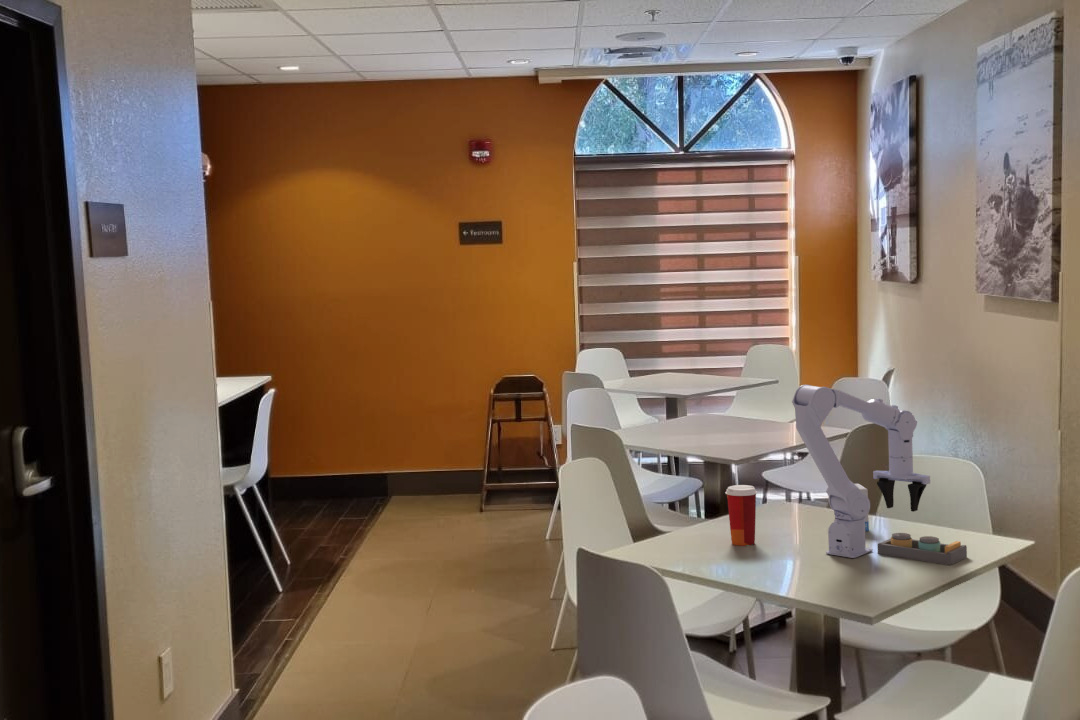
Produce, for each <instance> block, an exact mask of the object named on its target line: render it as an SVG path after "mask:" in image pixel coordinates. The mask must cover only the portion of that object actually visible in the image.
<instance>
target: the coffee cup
mask: <svg viewBox="0 0 1080 720" xmlns="http://www.w3.org/2000/svg"><path fill="white" fill-rule="evenodd" d="M724 493H725V495H726V497H727V508H728V509H727V510H728V519H729V528H730V529H729V530H730V540H731V544H732V545H734V546H737V545H738V547H747V546H746V545H750V546H753V545H755V543H756V541H755V540H756V516H757V515H756V510H757V509H756V508H757V507H756V506H757V505H756V503H757V494H758V491H757V490H756V488H755V486H753V485H747V484H735V485H730V486H727V488H726V491H725V492H724ZM752 544H753V545H752Z"/></svg>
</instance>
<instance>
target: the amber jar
mask: <svg viewBox="0 0 1080 720" xmlns="http://www.w3.org/2000/svg"><path fill="white" fill-rule="evenodd" d="M911 536H912V535H911V534H910V533H907V532H894V533H892V534H891V537H890V539H891V545H896V546H902V547H909V548H912V539H913V538H912V537H911Z"/></svg>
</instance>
